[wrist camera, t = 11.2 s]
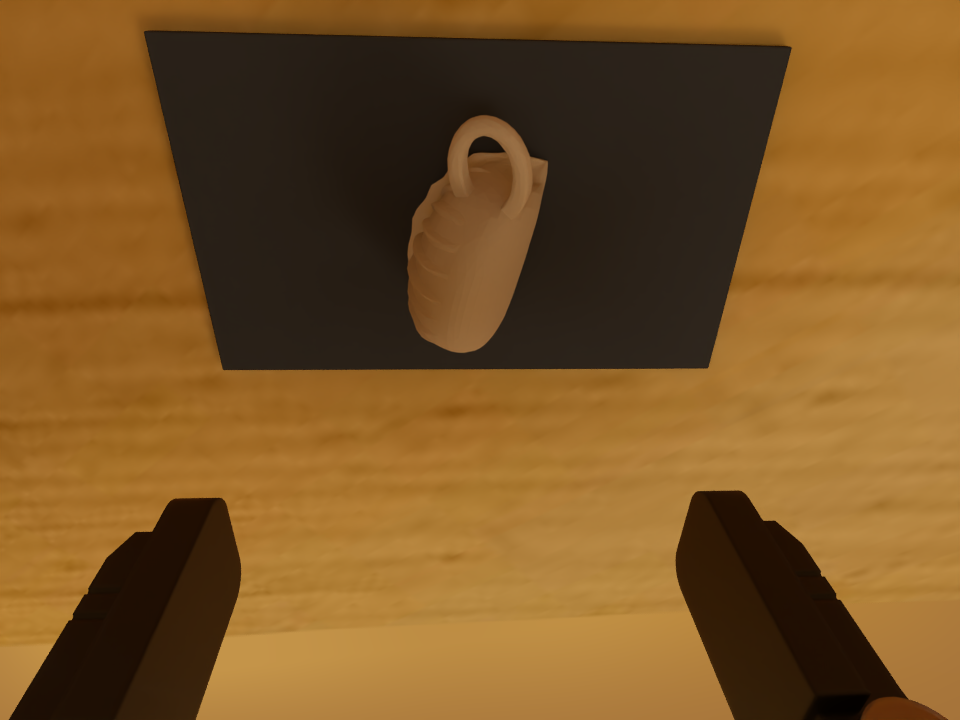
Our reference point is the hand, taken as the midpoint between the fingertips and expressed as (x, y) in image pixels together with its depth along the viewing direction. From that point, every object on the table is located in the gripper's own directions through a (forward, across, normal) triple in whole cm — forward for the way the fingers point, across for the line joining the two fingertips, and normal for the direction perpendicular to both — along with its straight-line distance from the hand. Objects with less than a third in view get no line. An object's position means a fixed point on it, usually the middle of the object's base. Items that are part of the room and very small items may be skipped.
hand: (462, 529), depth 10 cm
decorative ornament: (+14, -1, -1) cm, 14 cm away
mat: (+14, -1, -1) cm, 14 cm away
